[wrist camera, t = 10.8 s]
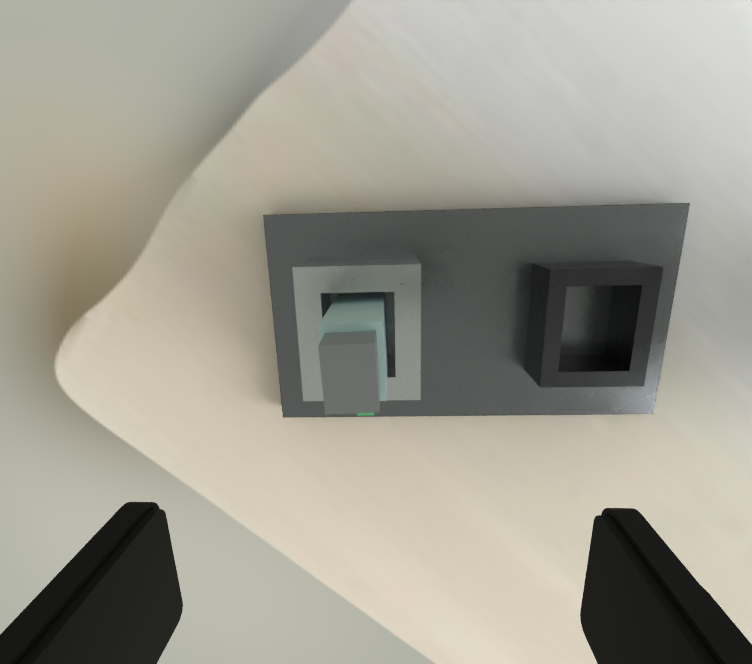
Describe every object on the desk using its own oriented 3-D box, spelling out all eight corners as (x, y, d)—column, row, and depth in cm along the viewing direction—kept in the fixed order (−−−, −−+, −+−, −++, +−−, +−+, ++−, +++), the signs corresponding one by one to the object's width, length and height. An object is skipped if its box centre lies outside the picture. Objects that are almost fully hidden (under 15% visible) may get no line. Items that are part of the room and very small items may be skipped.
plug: (384, 291, 26) (381, 333, 17) (387, 349, 28) (386, 420, 18) (338, 293, 27) (309, 337, 17) (343, 351, 28) (319, 423, 18)
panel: (672, 203, 26) (737, 200, 21) (640, 404, 30) (688, 440, 25) (270, 215, 27) (244, 214, 22) (288, 408, 31) (269, 443, 26)
